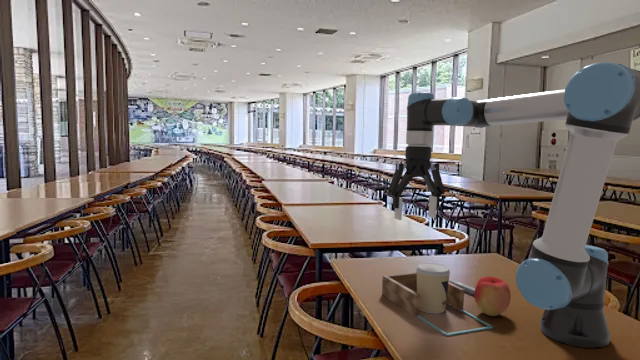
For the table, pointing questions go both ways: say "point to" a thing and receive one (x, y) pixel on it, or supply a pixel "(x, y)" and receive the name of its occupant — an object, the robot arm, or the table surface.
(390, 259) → the table surface
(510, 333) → the table surface
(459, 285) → the crook tool
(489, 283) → the apple
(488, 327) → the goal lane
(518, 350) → the table surface
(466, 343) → the table surface
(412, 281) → the cubby
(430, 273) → the coffee cup
